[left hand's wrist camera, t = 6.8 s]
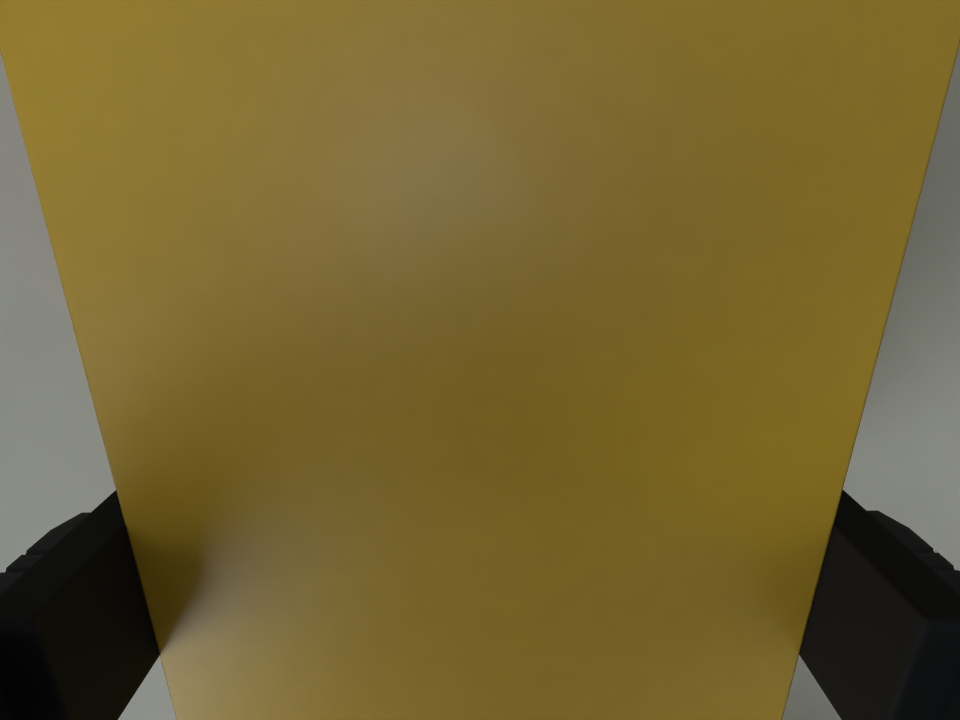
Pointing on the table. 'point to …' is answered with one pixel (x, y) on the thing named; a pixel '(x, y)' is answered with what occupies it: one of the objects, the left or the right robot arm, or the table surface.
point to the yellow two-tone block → (479, 331)
